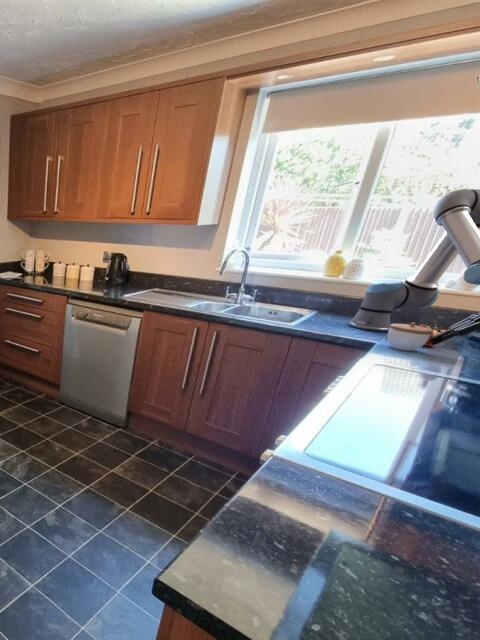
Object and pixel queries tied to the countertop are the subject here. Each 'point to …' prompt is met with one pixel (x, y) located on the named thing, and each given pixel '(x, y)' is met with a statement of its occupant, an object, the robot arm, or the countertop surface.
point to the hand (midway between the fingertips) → (430, 342)
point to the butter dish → (429, 338)
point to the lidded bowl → (408, 336)
